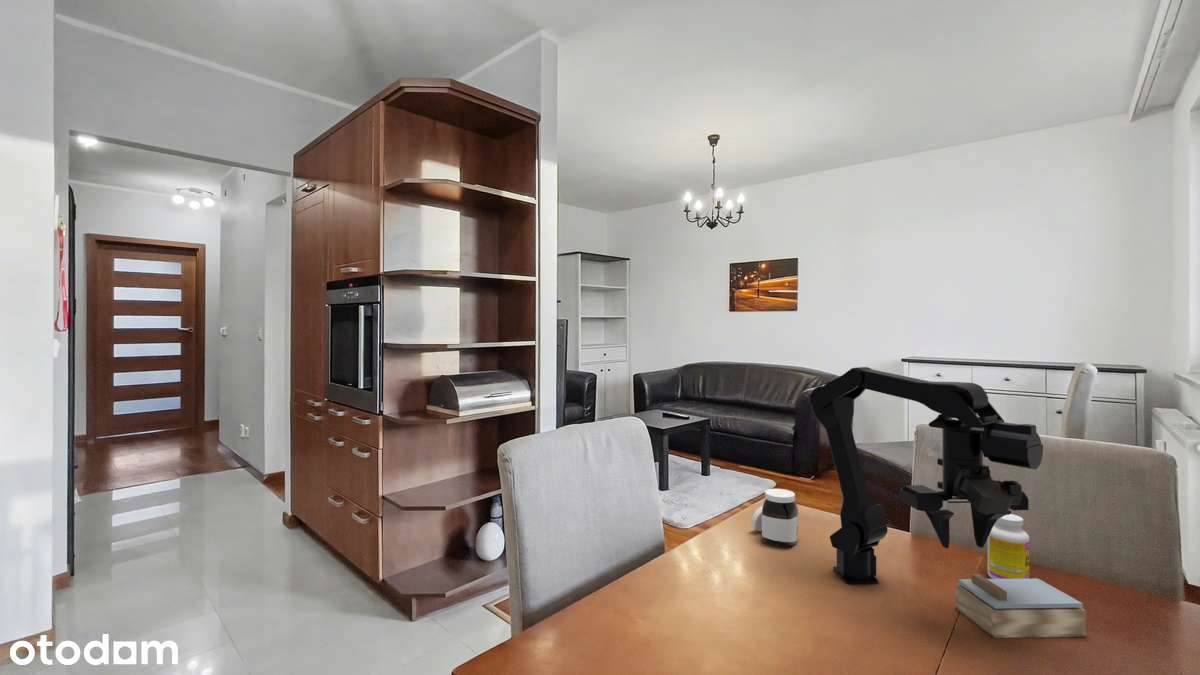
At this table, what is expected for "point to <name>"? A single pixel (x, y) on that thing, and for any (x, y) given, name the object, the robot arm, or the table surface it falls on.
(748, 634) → the table surface
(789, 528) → the spread jar
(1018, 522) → the supplement bottle
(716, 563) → the table surface
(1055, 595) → the lid
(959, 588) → the wooden box
